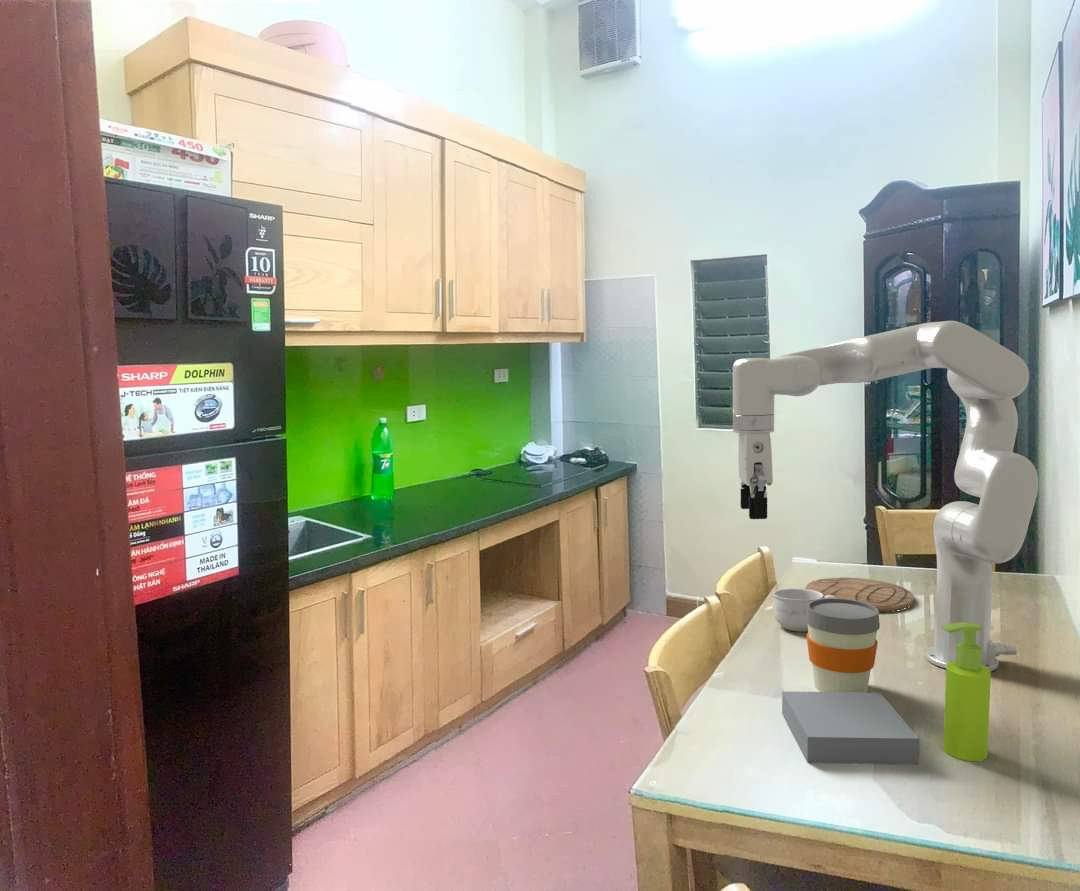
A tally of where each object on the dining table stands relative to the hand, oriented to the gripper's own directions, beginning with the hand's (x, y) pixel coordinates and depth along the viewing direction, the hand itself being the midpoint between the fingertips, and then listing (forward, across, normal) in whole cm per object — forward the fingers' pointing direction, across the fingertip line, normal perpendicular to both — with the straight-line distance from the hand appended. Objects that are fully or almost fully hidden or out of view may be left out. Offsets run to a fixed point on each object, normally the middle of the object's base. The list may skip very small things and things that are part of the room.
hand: (753, 513), depth 147 cm
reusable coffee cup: (+31, -8, -14) cm, 35 cm away
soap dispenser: (+31, -31, -26) cm, 51 cm away
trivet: (+32, +47, -34) cm, 66 cm away
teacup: (+31, +24, -15) cm, 42 cm away
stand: (+31, -27, -10) cm, 42 cm away
